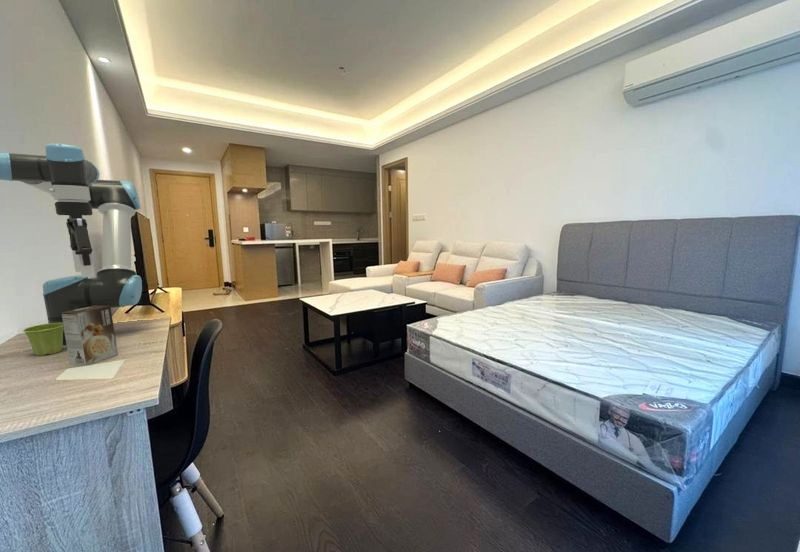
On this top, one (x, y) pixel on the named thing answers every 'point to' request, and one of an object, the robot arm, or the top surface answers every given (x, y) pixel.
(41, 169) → the robot arm
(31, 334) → the plant pot
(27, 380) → the top surface
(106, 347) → the coffee box
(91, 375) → the cream flat rectangular sheet
